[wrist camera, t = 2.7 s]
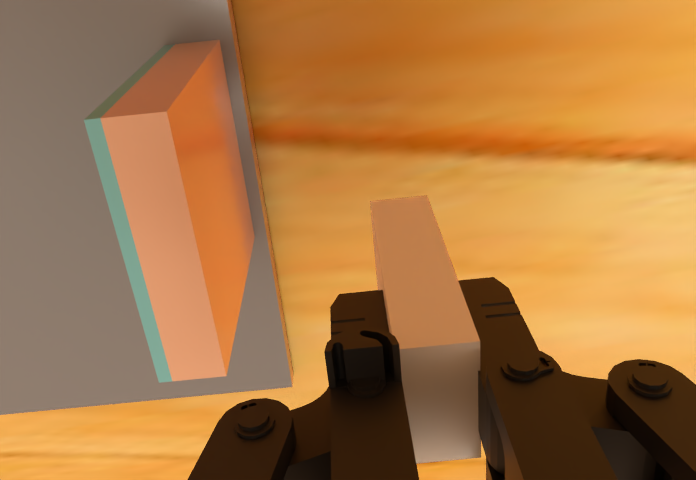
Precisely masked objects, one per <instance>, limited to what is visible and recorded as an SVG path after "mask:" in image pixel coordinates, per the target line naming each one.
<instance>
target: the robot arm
mask: <svg viewBox="0 0 696 480" xmlns="http://www.w3.org/2000/svg"><path fill="white" fill-rule="evenodd" d="M370 204H371V216H372V228H373V239H374V251H375V262H376V274H377V285H378V290H376V291H366V292H356V293H346V294H339V295H338V297H337V298H336V300H335V301H334V303H333V304H332V306H331V307H330V308H331V340H330V341H329V342H328V343H327V345H326V348H325V359H326V366H327V374H328V381H329V387H328V389H327V390H326V391H325V393H324V394H323V395H322V396H321V397H319V398H318V399H316V400H315V401H313V402H311V403H309V404H307V405H305V406H302V407H299V408H297V409H294V410H291V411H290V410H289V408H288V407H287V406H285V405H284V404H282V403H281V402H279V401H277V400H272V399H267V398H262V399H251V400H248V401H245V402H242V403H239V404H237V405H236V406H234V407H233V408H231V409H230V410H228V411H226V413H225V414H224V415H223V416H222V418H221V419H220V420H219V421H218V423H217V425H216V427H215V429H214V431H213V433H212V435H211V437H210V438H209V440H208V442H207V444H206V446H205V448H204V450H203V452H202V454H201V455H200V457H199V459H198V461H197V463H196V465H195V467H194V469H193V471H192V472H191V474H190V476H189V478H188V480H419V477H418V471H417V465H416V464H417V463H427V462H438V461H448V460H458V459H469V458H479V457H481V441H482V444H483V448H484V451H485V454H486V480H696V385H695V384H694V383H693V382H692V381H691V380H689V379H688V378H687V377H686V376H685V375H683V374H682V373H680V372H679V371H677V370H675V369H674V368H672V367H671V366H668V365H665V364H662V363H659V362H656V361H650V360H641V359H637V360H629V361H624V362H622V363H620V364H618V365H615V366H614V367H613V368H612V370H611V371H610V372H609V374H608V380H605V379H596V378H588V377H581V376H576V375H571V374H569V373H566V372H563V371H562V370H561V368H560V366H559V365H558V364H557V362H556V361H555V360H554V359H553V358H552V357H551V356H549V355H547V354H545V353H543V352H542V351H539V349H538V347H537V345H536V343H535V341H534V339H533V337H532V335H531V333H530V331H529V329H528V327H527V325H526V323H525V321H524V319H523V317H522V315H520V311H519V309H518V307H517V305H516V304H515V300H514V298H513V296H512V294H511V292H510V290H509V288H508V287H506V286H505V285H504V284H502V283H501V282H499V281H498V280H497V279H495V278H494V277H490V278H480V279H470V280H460V281H458V279H457V276H456V274H455V271H454V268H453V265H452V263H451V260H450V257H449V254H448V252H447V249H446V246H445V243H444V241H443V238H442V235H441V233H440V230H439V227H438V224H437V222H436V219H435V216H434V213H433V211H432V208H431V205H430V202H429V200H428V197H427V195H426V196H416V197H406V198H396V199H386V200H376V201H370Z"/></svg>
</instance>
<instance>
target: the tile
mask: <svg viewBox="0 0 696 480" xmlns="http://www.w3.org/2000/svg"><path fill="white" fill-rule="evenodd" d="M84 123H85V126H86V129H87V133H88V136H89V140H90V143H91V147H92V150H93V154H94V157H95V161H96V164H97V168H98V171H99V175H100V178H101V182H102V185H103V189H104V192H105V196H106V199H107V203H108V206H109V210H110V213H111V217H112V220H113V224H114V227H115V231H116V234H117V238H118V241H119V245H120V248H121V252H122V255H123V259H124V262H125V266H126V269H127V273H128V276H129V280H130V283H131V287H132V290H133V294H134V297H135V301H136V304H137V308H138V311H139V315H140V318H141V322H142V325H143V329H144V332H145V336H146V339H147V343H148V346H149V350H150V353H151V357H152V360H153V363H154V367H155V370H156V374H157V377H158V381H159V383H161V382H171V381H182V380H192V379H202V378H213V377H223V376H227V371H228V366H229V361H230V356H231V351H232V346H233V342H234V337H235V332H236V327H237V322H238V317H239V312H240V307H241V302H242V297H243V292H244V287H245V283H246V278H247V273H248V268H249V263H250V258H251V253H252V248H253V243H254V238H255V236H254V230H253V224H252V219H251V213H250V208H249V202H248V196H247V191H246V185H245V180H244V174H243V168H242V163H241V157H240V152H239V146H238V141H237V135H236V129H235V124H234V118H233V113H232V107H231V101H230V96H229V90H228V85H227V79H226V73H225V68H224V62H223V57H222V51H221V46H220V40H211V41H202V42H192V43H182V44H173V45H164V46H163V47H162V48H161V49H160V50H159V51H158V52H157V53H155V54H154V55H153V56H152V57H151V58H150V59H149V60H148V61H147V62H146V63H145V64H144V65H143V66H141V67H140V68H139V69H138V70H137V71H136V72H135V73H134V74H133V75H132V76H131V77H130V78H128V79H127V80H126V81H125V82H124V83H123V84H122V85H121V86H120V87H119V88H118V89H117V90H116V91H114V92H113V93H112V94H111V95H110V96H109V97H108V98H107V99H106V100H105V101H104V102H103V103H101V104H100V105H99V106H98V107H97V108H96V109H95V110H94V111H93V112H92V113H91V114H90V115H89V116H87V117H86V118H85V119H84Z"/></svg>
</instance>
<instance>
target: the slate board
mask: <svg viewBox="0 0 696 480" xmlns="http://www.w3.org/2000/svg"><path fill="white" fill-rule="evenodd" d="M211 40H220V46H221V51H222V57H223V62H224V68H225V73H226V79H227V85H228V90H229V96H230V101H231V107H232V113H233V118H234V124H235V129H236V135H237V141H238V146H239V152H240V157H241V163H242V168H243V174H244V180H245V185H246V191H247V196H248V202H249V208H250V213H251V219H252V224H253V230H254V236H255V238H254V243H253V248H252V253H251V258H250V263H249V268H248V273H247V278H246V283H245V287H244V292H243V297H242V302H241V307H240V312H239V317H238V322H237V327H236V332H235V337H234V342H233V346H232V351H231V356H230V361H229V366H228V371H227V376H223V377H213V378H202V379H192V380H182V381H171V382H161V383H159V381H158V377H157V374H156V370H155V367H154V363H153V360H152V357H151V353H150V350H149V346H148V343H147V339H146V336H145V332H144V329H143V325H142V322H141V318H140V315H139V311H138V308H137V304H136V301H135V297H134V294H133V290H132V287H131V283H130V280H129V276H128V273H127V269H126V266H125V262H124V259H123V255H122V252H121V248H120V245H119V241H118V238H117V234H116V231H115V227H114V224H113V220H112V217H111V213H110V210H109V206H108V203H107V199H106V196H105V192H104V189H103V185H102V182H101V178H100V175H99V171H98V168H97V164H96V161H95V157H94V154H93V150H92V147H91V143H90V140H89V136H88V133H87V129H86V126H85V123H84V119H85V118H86V117H87V116H89V115H90V114H91V113H92V112H93V111H94V110H95V109H96V108H97V107H98V106H99V105H100V104H101V103H103V102H104V101H105V100H106V99H107V98H108V97H109V96H110V95H111V94H112V93H113V92H114V91H116V90H117V89H118V88H119V87H120V86H121V85H122V84H123V83H124V82H125V81H126V80H127V79H128V78H130V77H131V76H132V75H133V74H134V73H135V72H136V71H137V70H138V69H139V68H140V67H141V66H143V65H144V64H145V63H146V62H147V61H148V60H149V59H150V58H151V57H152V56H153V55H154V54H155V53H157V52H158V51H159V50H160V49H161V48H162V47H163V46H164V45H173V44H182V43H192V42H202V41H211ZM292 384H293V369H292V363H291V357H290V351H289V345H288V339H287V333H286V327H285V321H284V315H283V309H282V303H281V297H280V291H279V285H278V279H277V273H276V267H275V261H274V255H273V249H272V243H271V237H270V231H269V225H268V219H267V213H266V207H265V201H264V195H263V189H262V183H261V177H260V171H259V165H258V159H257V153H256V147H255V141H254V135H253V129H252V123H251V117H250V111H249V105H248V99H247V93H246V87H245V81H244V75H243V69H242V63H241V57H240V51H239V45H238V39H237V33H236V27H235V21H234V15H233V9H232V3H231V0H0V415H3V414H14V413H24V412H35V411H45V410H56V409H66V408H77V407H87V406H97V405H108V404H118V403H129V402H139V401H150V400H160V399H171V398H181V397H192V396H202V395H213V394H223V393H233V392H244V391H254V390H265V389H275V388H286V387H292Z"/></svg>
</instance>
